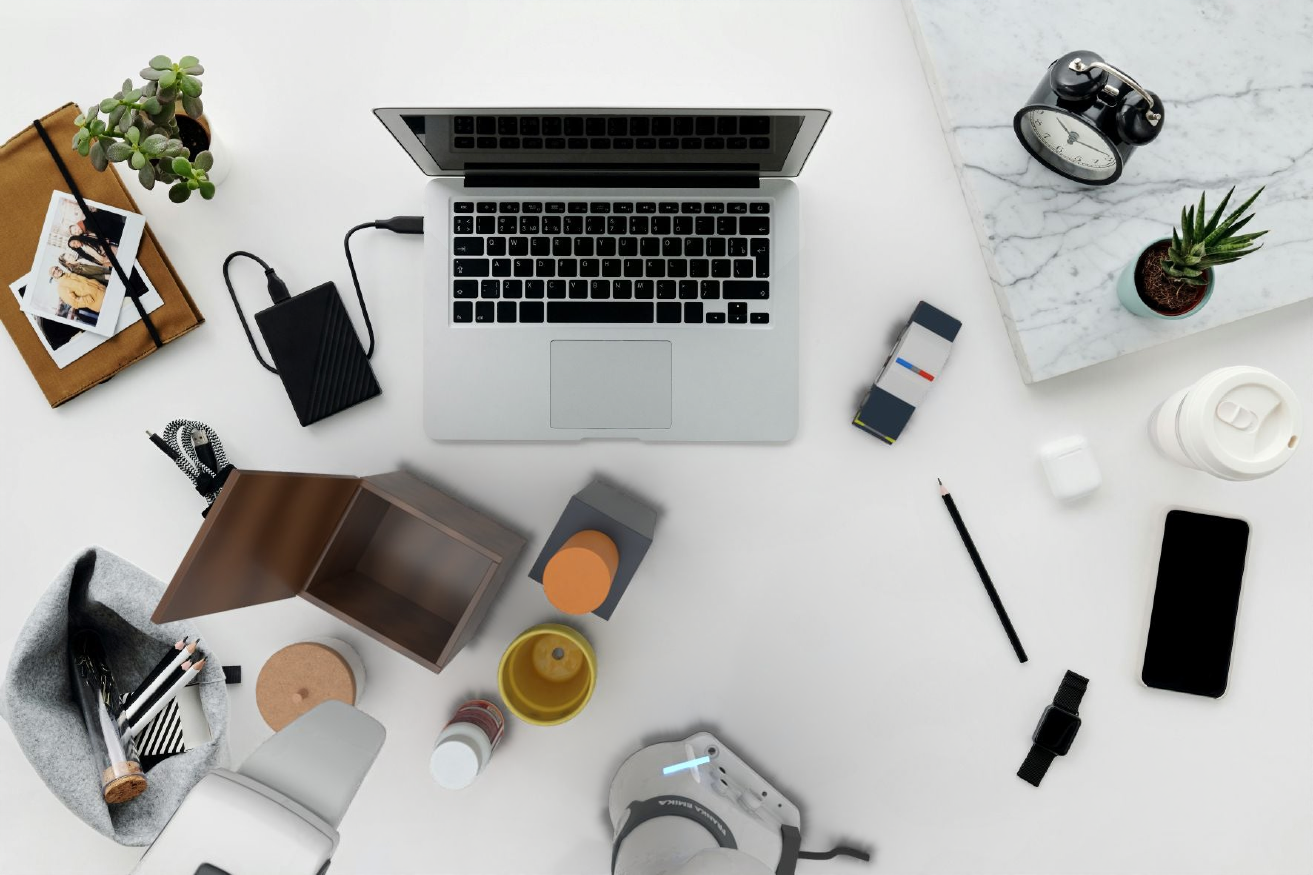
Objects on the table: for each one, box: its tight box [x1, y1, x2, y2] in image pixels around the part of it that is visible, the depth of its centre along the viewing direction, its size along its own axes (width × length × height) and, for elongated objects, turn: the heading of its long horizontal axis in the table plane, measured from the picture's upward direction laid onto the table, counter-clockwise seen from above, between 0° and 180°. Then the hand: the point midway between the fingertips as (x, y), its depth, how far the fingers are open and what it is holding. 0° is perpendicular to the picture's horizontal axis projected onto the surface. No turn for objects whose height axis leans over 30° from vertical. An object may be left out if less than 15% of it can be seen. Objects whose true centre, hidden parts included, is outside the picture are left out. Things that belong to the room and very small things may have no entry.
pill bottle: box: [429, 699, 505, 791], centre depth 86 cm, size 6×6×11 cm
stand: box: [527, 478, 657, 622], centre depth 79 cm, size 8×8×24 cm
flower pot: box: [496, 622, 598, 727], centre depth 87 cm, size 10×10×10 cm
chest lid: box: [149, 468, 361, 626], centre depth 69 cm, size 18×14×1 cm
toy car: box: [851, 300, 963, 446], centre depth 88 cm, size 5×16×5 cm, turn 151°
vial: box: [542, 530, 619, 616], centre depth 62 cm, size 5×5×10 cm
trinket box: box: [255, 636, 367, 733], centre depth 87 cm, size 11×11×9 cm
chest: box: [296, 470, 528, 675], centre depth 85 cm, size 17×14×13 cm
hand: (318, 824), depth 47 cm, fingers open, 8 cm apart
